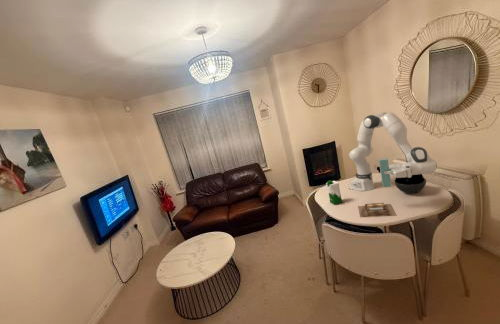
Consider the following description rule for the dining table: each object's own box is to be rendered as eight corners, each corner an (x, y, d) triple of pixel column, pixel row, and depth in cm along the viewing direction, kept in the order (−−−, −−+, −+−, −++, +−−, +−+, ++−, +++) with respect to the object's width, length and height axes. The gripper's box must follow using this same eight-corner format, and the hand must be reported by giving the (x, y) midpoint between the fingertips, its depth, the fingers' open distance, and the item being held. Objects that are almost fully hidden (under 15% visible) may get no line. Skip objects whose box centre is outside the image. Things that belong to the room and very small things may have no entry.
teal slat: (390, 185, 157) (386, 158, 154) (391, 186, 155) (387, 159, 151) (382, 186, 159) (378, 159, 156) (383, 187, 157) (379, 160, 153)
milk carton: (328, 202, 191) (324, 180, 188) (338, 199, 192) (334, 177, 189) (334, 205, 183) (329, 183, 179) (343, 202, 184) (339, 180, 180)
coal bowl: (407, 185, 185) (404, 164, 182) (433, 190, 166) (431, 167, 163) (390, 193, 179) (387, 171, 176) (415, 199, 160) (413, 175, 157)
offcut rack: (391, 205, 161) (390, 200, 160) (397, 217, 145) (396, 211, 144) (358, 207, 170) (357, 202, 169) (360, 219, 154) (359, 213, 153)
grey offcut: (383, 212, 152) (382, 207, 152) (383, 214, 150) (383, 208, 150) (370, 213, 155) (369, 208, 155) (370, 214, 154) (369, 209, 153)
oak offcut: (383, 210, 155) (382, 203, 154) (384, 211, 153) (383, 204, 153) (368, 211, 159) (367, 204, 158) (368, 212, 157) (367, 205, 157)
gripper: (401, 160, 159) (380, 163, 164) (410, 169, 140) (385, 171, 146) (403, 169, 160) (381, 171, 165) (411, 178, 141) (387, 180, 147)
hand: (383, 171), depth 155 cm, fingers closed on teal slat, 2 cm apart
